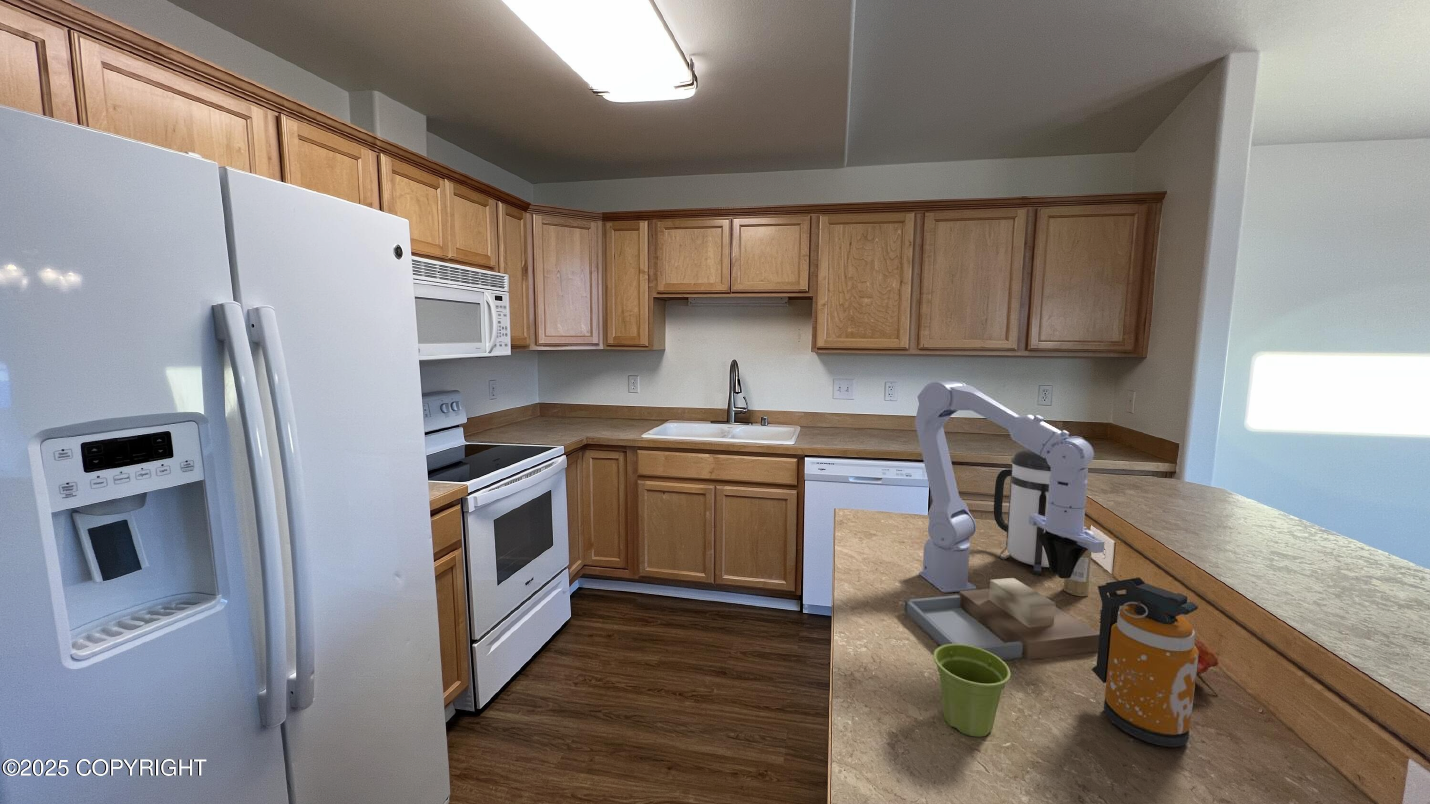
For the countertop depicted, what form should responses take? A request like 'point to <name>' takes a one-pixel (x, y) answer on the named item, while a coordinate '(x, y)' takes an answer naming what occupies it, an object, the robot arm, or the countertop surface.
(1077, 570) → the sprinkles bottle
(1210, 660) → the pomegranate
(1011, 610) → the cream rectangular box
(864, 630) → the countertop surface
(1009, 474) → the coffee press
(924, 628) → the box
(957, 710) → the plant pot
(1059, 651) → the walnut plate
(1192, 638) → the canister
